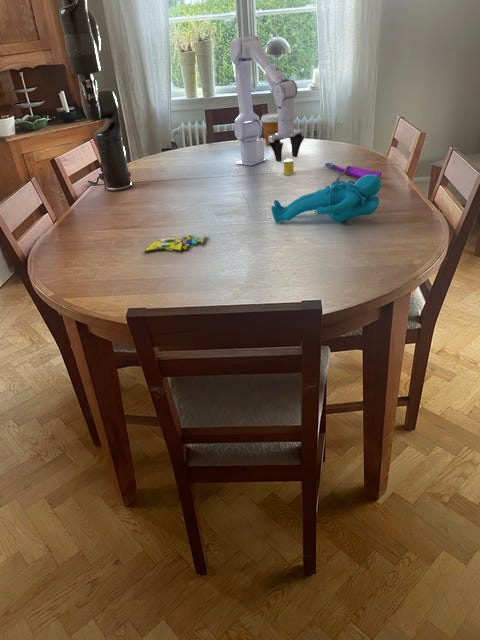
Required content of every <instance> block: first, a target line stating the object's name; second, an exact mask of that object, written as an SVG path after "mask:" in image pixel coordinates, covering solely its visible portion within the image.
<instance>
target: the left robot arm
mask: <svg viewBox="0 0 480 640" xmlns="http://www.w3.org/2000/svg"><path fill="white" fill-rule="evenodd" d="M61 2H62V6H63V7H61V8H60V9H59V12H58V13H59V21H60V24H61V28H62V31H63V37H64V44H65V49H66V52H67V57H68V62H69V66H70V70H71V73H72V74H73V75H76V76H77V79H78V85H79V86H78V87H79V92H80V93H79V94H80V99H81V105H82V109H83V112H84V114H85V117H86V118H87V120H88V121H90V122H98V121H103V120H105V122H104V124H103V125H102V126H101V127H100V128H99V129H98V130H96V131H95V132H94V139H95V143H96V147H97V153H98V156H99V160H100V162H99V163H98V164H99V168H100V172H99V173H98V176H97V177H96V181H91V180H87V183H89V184H92V185H97V184H98V183H99V180H101V181H102V182H103V185H104V189H106V190H107V191H111V192H120V191H124V190H127V189H130V188H132V187H133V184H132V179H131V172H130V170H129V169H130V168H129V165H128V160H127V155H126V149H125V144H124V141H123V134H122V124H121V118H120V112H119V105H118V102H117V97H116V95H115V93H114V91H112V90H111V89H110V88H102V89H98V83H97V79H95V77H94V74H96V73H99V72H100V71H101V66H100V65H101V64H100V61H99V55H100V52H101V47H102V46H101V44H102V43H101V38H100V32H99V26H98V21H97V20H96V17H95V15H94V14H93V13H92V11H91V10H90V8H89V7H88V0H61Z"/></svg>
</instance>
